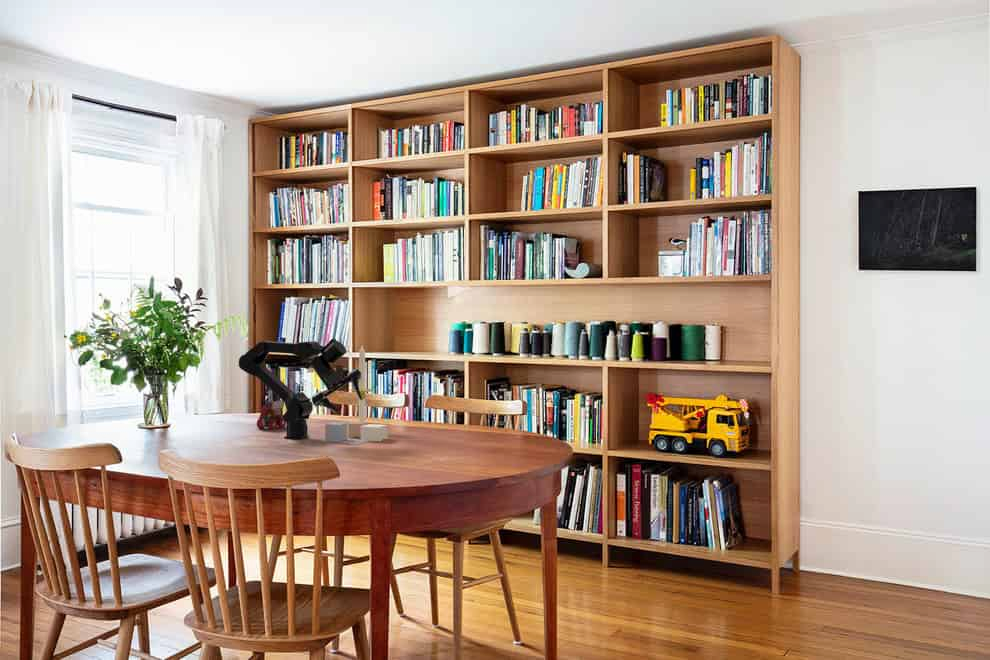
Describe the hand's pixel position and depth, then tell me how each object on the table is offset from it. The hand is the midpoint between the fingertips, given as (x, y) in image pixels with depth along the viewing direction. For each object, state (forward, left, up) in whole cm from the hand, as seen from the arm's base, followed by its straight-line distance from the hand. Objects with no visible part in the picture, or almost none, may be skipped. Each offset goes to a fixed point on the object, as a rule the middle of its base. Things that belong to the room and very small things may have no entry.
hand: (350, 407), depth 302 cm
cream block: (+5, +7, -12) cm, 15 cm away
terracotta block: (-4, +11, -12) cm, 17 cm away
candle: (-9, +24, -12) cm, 28 cm away
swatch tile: (+2, -1, -12) cm, 12 cm away
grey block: (-6, 0, -12) cm, 13 cm away
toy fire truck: (-44, +17, -12) cm, 48 cm away
